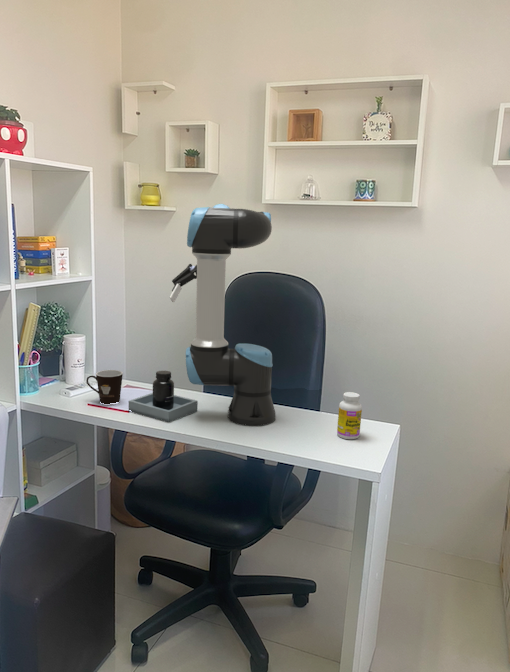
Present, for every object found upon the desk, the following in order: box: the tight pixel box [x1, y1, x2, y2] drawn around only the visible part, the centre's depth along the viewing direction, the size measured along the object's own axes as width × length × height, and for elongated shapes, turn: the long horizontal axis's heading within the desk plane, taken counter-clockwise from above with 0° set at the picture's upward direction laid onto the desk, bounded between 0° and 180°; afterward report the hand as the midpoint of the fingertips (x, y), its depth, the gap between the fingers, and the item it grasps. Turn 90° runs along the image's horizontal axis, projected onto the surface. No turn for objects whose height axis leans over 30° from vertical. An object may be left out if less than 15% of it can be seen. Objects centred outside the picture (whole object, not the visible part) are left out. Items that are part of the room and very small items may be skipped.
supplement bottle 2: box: [336, 391, 363, 440], centre depth 163 cm, size 7×7×13 cm
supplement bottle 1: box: [152, 370, 175, 410], centre depth 179 cm, size 7×7×12 cm
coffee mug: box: [85, 369, 124, 404], centre depth 187 cm, size 12×9×10 cm
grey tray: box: [128, 392, 199, 424], centre depth 180 cm, size 17×14×4 cm
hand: (187, 301), depth 197 cm, fingers open, 13 cm apart
